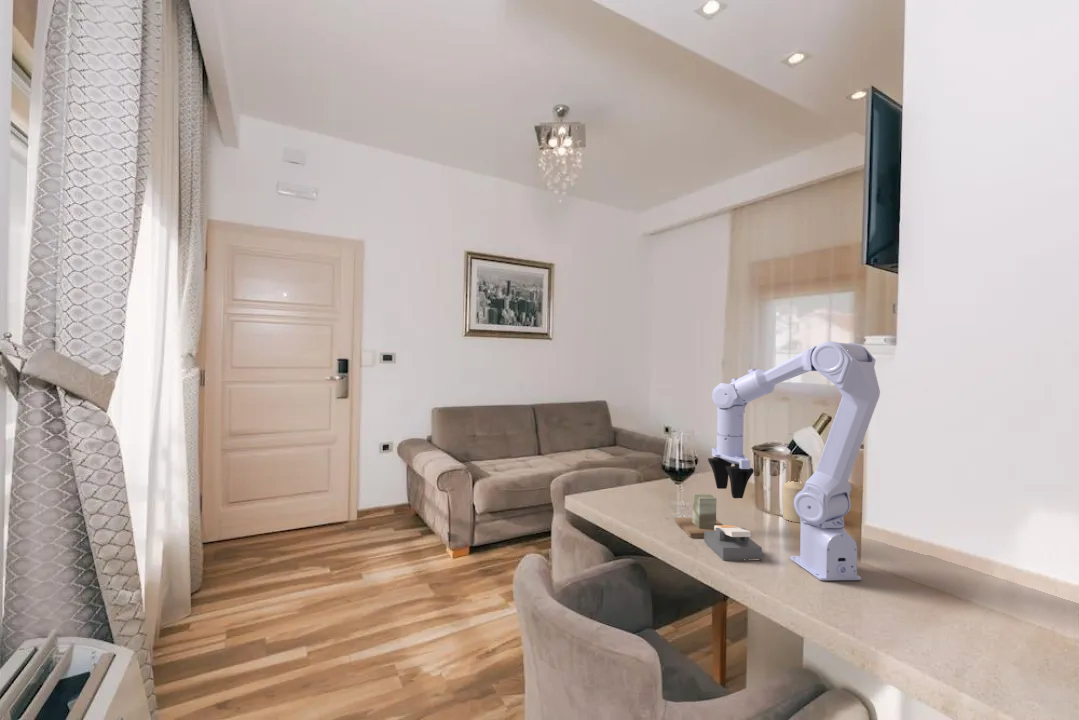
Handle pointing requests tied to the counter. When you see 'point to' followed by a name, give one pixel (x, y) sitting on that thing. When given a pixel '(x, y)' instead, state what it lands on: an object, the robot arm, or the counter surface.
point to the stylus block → (704, 510)
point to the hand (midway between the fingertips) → (729, 492)
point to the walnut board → (692, 527)
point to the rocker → (733, 531)
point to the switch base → (732, 546)
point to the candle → (791, 500)
